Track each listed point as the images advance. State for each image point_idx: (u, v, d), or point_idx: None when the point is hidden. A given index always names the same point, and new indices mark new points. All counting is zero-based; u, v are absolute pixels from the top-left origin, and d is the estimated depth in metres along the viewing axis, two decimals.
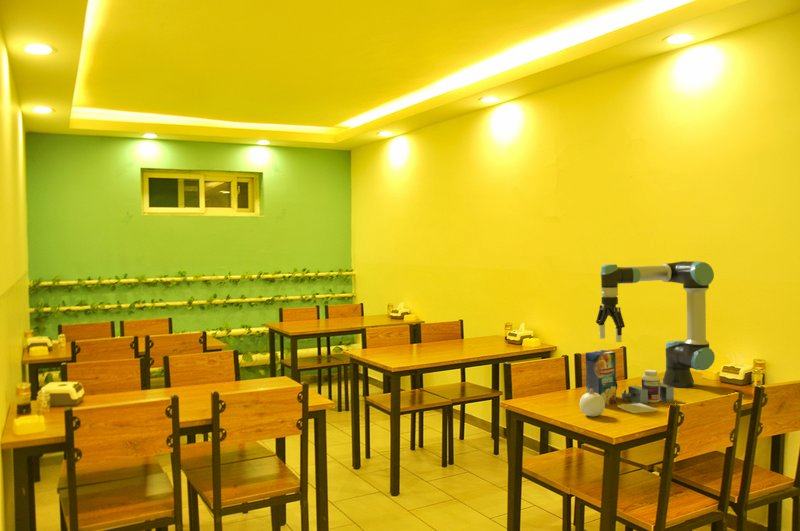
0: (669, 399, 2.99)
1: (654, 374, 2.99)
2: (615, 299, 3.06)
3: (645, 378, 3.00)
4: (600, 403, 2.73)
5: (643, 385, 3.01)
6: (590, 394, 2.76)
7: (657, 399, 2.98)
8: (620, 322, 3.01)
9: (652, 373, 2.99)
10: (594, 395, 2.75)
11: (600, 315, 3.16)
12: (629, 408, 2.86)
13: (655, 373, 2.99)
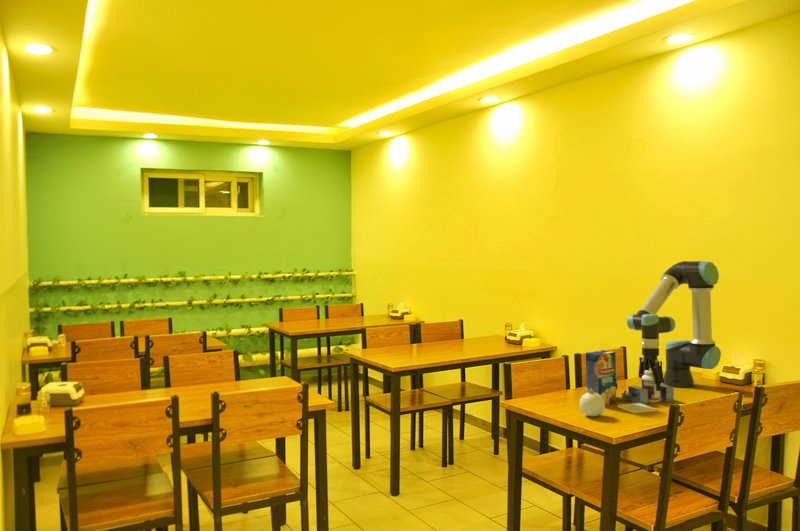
0: (669, 399, 2.99)
1: None
2: (656, 351, 2.98)
3: (645, 378, 3.00)
4: (600, 403, 2.73)
5: (643, 385, 3.01)
6: (590, 394, 2.76)
7: (657, 399, 2.98)
8: (660, 378, 2.94)
9: (652, 373, 2.99)
10: (594, 395, 2.75)
11: (641, 368, 3.07)
12: (629, 408, 2.86)
13: None
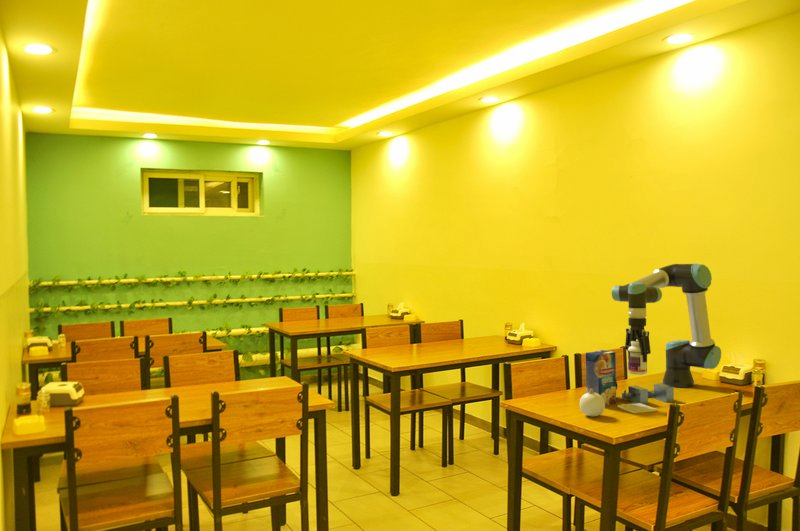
0: (669, 399, 2.99)
1: None
2: (643, 320, 2.86)
3: (631, 349, 2.88)
4: (600, 403, 2.73)
5: (629, 356, 2.89)
6: (590, 394, 2.76)
7: (644, 371, 2.86)
8: (646, 348, 2.82)
9: None
10: (594, 395, 2.75)
11: (628, 339, 2.95)
12: (629, 408, 2.86)
13: None
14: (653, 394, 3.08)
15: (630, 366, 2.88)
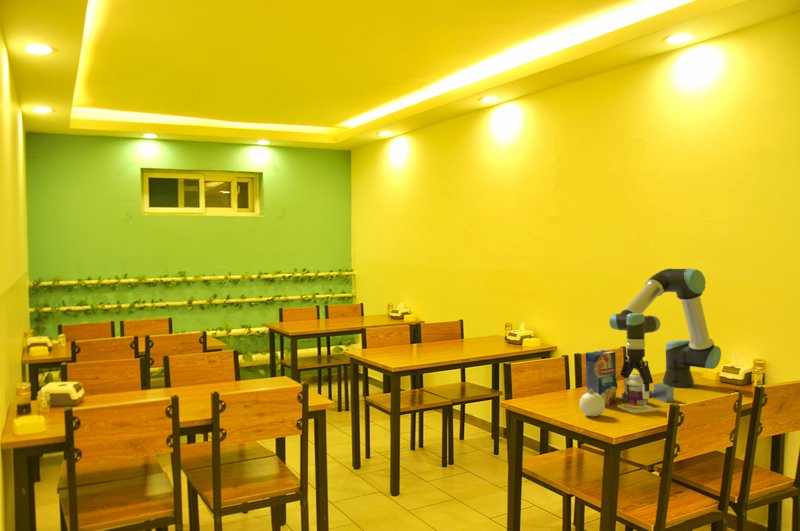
0: (669, 399, 2.99)
1: (640, 379, 2.86)
2: (642, 351, 2.84)
3: (630, 383, 2.86)
4: (600, 403, 2.73)
5: (628, 390, 2.87)
6: (590, 394, 2.76)
7: (643, 405, 2.85)
8: (648, 377, 2.79)
9: (637, 377, 2.85)
10: (594, 395, 2.75)
11: (625, 367, 2.95)
12: (629, 408, 2.86)
13: None
14: (653, 394, 3.08)
15: (629, 400, 2.87)
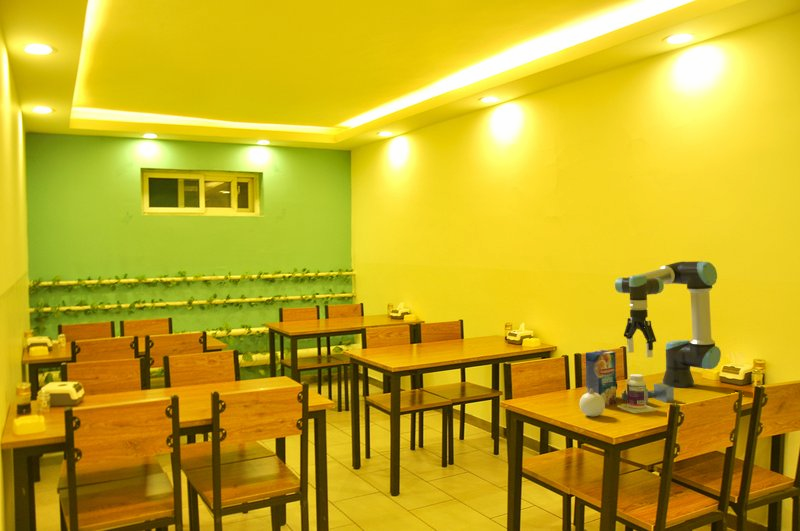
0: (669, 399, 2.99)
1: (640, 379, 2.85)
2: (645, 312, 2.92)
3: (630, 383, 2.86)
4: (600, 403, 2.73)
5: (628, 390, 2.87)
6: (590, 394, 2.76)
7: (643, 405, 2.85)
8: (651, 336, 2.87)
9: (637, 377, 2.85)
10: (594, 395, 2.75)
11: (628, 328, 3.03)
12: (629, 408, 2.86)
13: (641, 377, 2.86)
14: (653, 394, 3.08)
15: (629, 400, 2.87)
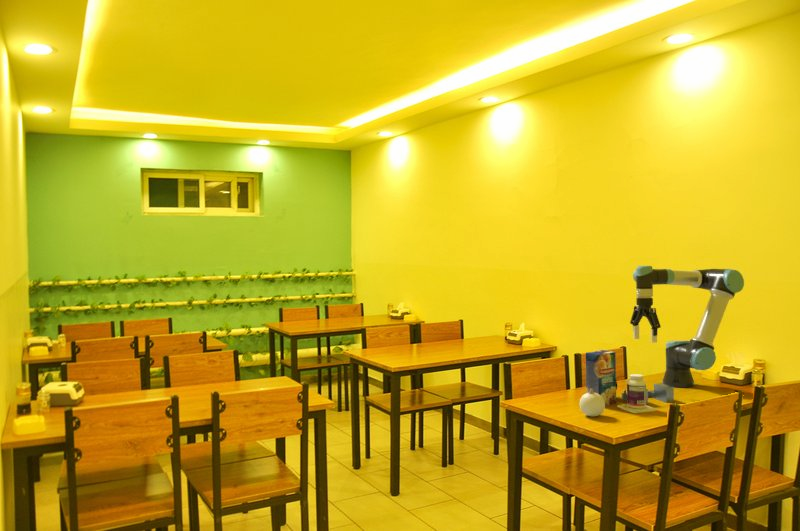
0: (669, 399, 2.99)
1: (640, 379, 2.85)
2: (650, 300, 3.11)
3: (630, 383, 2.86)
4: (600, 403, 2.73)
5: (628, 390, 2.87)
6: (590, 394, 2.76)
7: (643, 405, 2.85)
8: (656, 323, 3.05)
9: (638, 378, 2.85)
10: (594, 395, 2.75)
11: (634, 316, 3.21)
12: (629, 408, 2.86)
13: (641, 378, 2.86)
14: (653, 394, 3.08)
15: (629, 400, 2.87)
